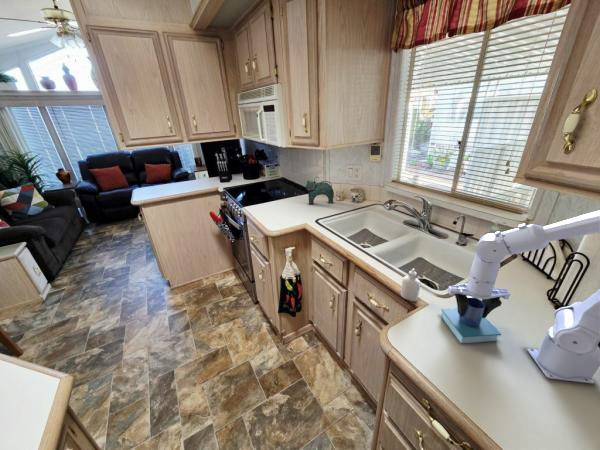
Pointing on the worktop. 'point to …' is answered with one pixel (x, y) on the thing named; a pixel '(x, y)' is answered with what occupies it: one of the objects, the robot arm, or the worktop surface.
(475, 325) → the cup
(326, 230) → the worktop surface
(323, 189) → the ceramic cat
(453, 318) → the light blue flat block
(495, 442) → the worktop surface
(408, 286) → the eye dropper bottle
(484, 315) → the robot arm
